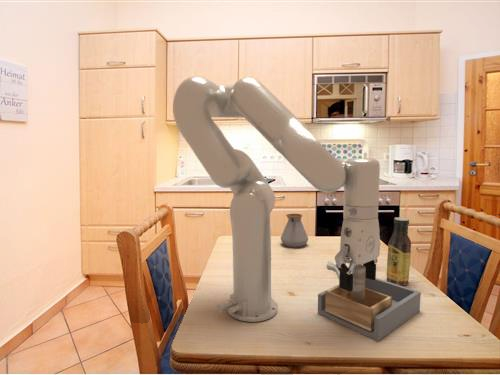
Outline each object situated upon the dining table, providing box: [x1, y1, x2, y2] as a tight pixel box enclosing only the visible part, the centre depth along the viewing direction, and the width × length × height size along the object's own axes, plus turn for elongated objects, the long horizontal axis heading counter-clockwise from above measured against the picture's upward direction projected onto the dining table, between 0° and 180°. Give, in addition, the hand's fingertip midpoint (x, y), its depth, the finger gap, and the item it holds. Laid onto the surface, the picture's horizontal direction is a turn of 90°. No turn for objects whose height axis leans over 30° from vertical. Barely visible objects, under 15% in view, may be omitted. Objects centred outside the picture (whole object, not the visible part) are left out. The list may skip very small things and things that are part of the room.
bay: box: [317, 277, 422, 342], centre depth 83 cm, size 20×16×5 cm
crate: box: [325, 264, 392, 331], centre depth 79 cm, size 9×12×12 cm
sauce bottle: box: [386, 216, 412, 286], centre depth 100 cm, size 7×6×20 cm
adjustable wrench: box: [326, 260, 340, 278], centre depth 106 cm, size 25×6×2 cm, turn 172°
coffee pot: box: [280, 213, 309, 249], centre depth 135 cm, size 21×12×15 cm, turn 168°
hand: (357, 283), depth 79 cm, fingers open, 9 cm apart
